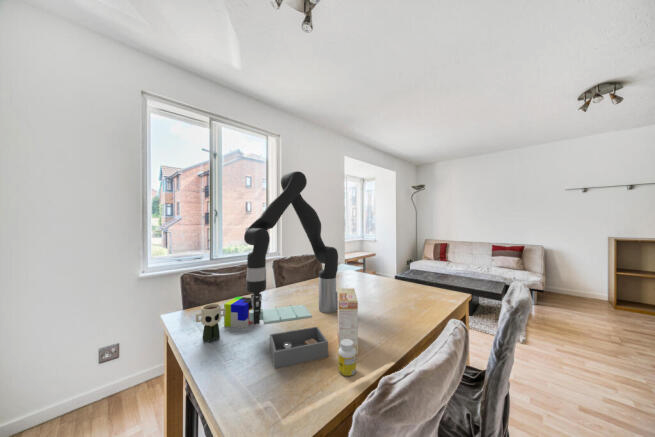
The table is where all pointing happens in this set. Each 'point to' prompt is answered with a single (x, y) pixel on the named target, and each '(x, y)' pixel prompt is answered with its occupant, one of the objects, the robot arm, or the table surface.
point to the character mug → (210, 320)
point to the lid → (282, 314)
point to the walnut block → (310, 342)
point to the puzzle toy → (237, 312)
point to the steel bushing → (287, 345)
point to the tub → (297, 347)
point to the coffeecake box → (347, 316)
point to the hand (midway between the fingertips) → (256, 321)
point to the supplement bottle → (347, 358)
